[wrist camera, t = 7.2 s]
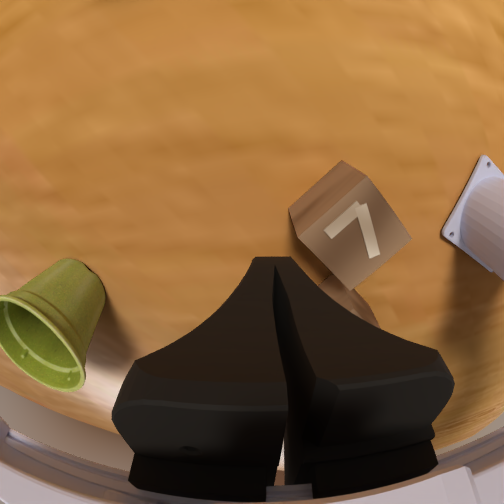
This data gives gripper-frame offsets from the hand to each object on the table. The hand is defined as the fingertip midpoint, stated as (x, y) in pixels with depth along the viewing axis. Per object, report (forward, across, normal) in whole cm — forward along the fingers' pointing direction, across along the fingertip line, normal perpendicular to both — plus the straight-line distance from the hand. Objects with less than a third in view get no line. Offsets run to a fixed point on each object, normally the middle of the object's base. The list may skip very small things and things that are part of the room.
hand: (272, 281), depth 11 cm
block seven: (+10, -5, +1) cm, 12 cm away
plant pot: (+11, +17, +8) cm, 21 cm away
